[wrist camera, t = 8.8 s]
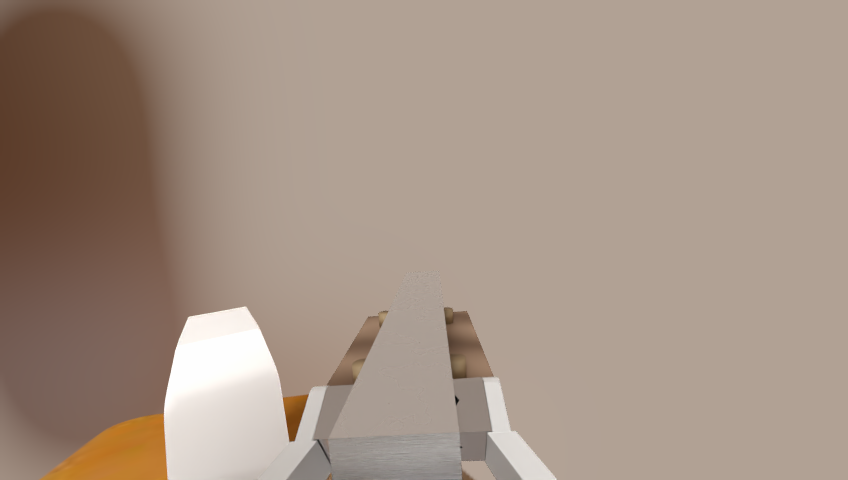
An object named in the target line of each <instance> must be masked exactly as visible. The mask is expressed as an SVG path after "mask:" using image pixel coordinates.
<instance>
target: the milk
mask: <svg viewBox="0 0 848 480" xmlns="http://www.w3.org/2000/svg"><path fill="white" fill-rule="evenodd" d="M164 427H165V443H166V458H167V473H168V480H257V479H258V478H259V477H260V475H261V474H262V473H263V472H264V471H265V470H266V469H267V467H268V466H269V465H270V464H271V463H272V462H273V461H274V459H275V458H276V457H277V456H278V455H279V454H280V453H281V451H282V450H283V449H284V448H285V447H286V446H287V444H288V443H289V437H288V430H287V424H286V417H285V411H284V405H283V398H282V392H281V385H280V380H279V376H278V372H277V369H276V367H275V364H274V362H273V359H272V357H271V354H270V352H269V350H268V347H267V345H266V343H265V340H264V338H263V335H262V333H261V331H260V329H259V326H258V325H257V323H256V321H255V320H254V318H253V317H252V315H251V314H250V312H249V310H248V309H247V307H241V308H236V309H230V310H224V311H219V312H213V313H208V314H202V315H197V316H191V317H188V319H187V322H186V324H185V327H184V329H183V331H182V334H181V336H180V338H179V341H178V344H177V348H176V351H175V356H174V360H173V365H172V370H171V374H170V379H169V384H168V388H167V394H166V400H165V407H164Z"/></svg>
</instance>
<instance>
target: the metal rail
mask: <svg viewBox="0 0 848 480" xmlns="http://www.w3.org/2000/svg"><path fill="white" fill-rule="evenodd" d="M328 441H329V452H330V462H331V473H332V480H462V467H461V451H460V436H459V426H458V418H457V410H456V402H455V394H454V386H453V378H452V370H451V362H450V354H449V346H448V338H447V330H446V322H445V314H444V307H443V298H442V290H441V283H440V275H439V271H431V272H416V273H407V274H406V275H405V278H404V280H403V282H402V284H401V286H400V288H399V290H398V292H397V294H396V297H395V299H394V301H393V303H392V305H391V307H390V310H389V311H388V313H387V316H386V318H385V320H384V322H383V324H382V326H381V328H380V330H379V333H378V335H377V337H376V339H375V341H374V343H373V345H372V347H371V349H370V352H369V354H368V356H367V358H366V360H365V362H364V364H363V366H362V368H361V371H360V373H359V375H358V377H357V379H356V381H355V383H354V385H353V387H352V390H351V392H350V394H349V396H348V398H347V400H346V402H345V404H344V406H343V409H342V411H341V413H340V415H339V417H338V419H337V421H336V423H335V425H334V428H333V430H332V432H331V434H330V436H329V438H328Z"/></svg>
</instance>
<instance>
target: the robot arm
mask: <svg viewBox="0 0 848 480" xmlns="http://www.w3.org/2000/svg"><path fill="white" fill-rule="evenodd" d="M453 386H454V394H455V402H456V410H457V418H458V426H459V436H460V451H461V461H480V460H481V461H483V460H484V461H485V462H486V464H487V466H488V467H489V469H490V470H491V472H492V473H493V475H494V476H495V478H496V480H557V479H556V478H555V476H554V475H553V474H552V473H551V472H550V471H549V469H548V468H547V467H546V466H545V464H544V463H543V462H542V461H541V460H540V459H539V457H538V456H537V455H536V454H535V453H534V451H533V450H532V449H531V448H530V447H529V446H528V444H527V443H526V442H525V441H524V440H523V438H522V437H521V436H520V435H519V434H518V433H517V431H511V428H510V423H509V419H508V414H507V410H506V406H505V401H504V397H503V393H502V388H501V384H500V380H499V379H498V377H497V376H495V377H475V378H462V379H453ZM352 387H353V385H336V386H316V387H313V388H312V389H311V391H310V393H309V396H308V399H307V402H306V406H305V409H304V412H303V416H302V419H301V422H300V425H299V429H298V432H297V435H296V438H295V441H291V442H289V443H288V444H287V446H286V447H285V448H284V449H283V450H282V451H281V453H280V454H279V455H278V456H277V457H276V458H275V459H274V461H273V462H272V463H271V464H270V465H269V466H268V467H267V469H266V470H265V471H264V472H263V473H262V474H261V475H260V477H259V478H258V479H257V480H326V479H327V478H328V476H329V475H330V473H331V462H330V452H329V441H328V438H329V436H330V434H331V432H332V430H333V428H334V425H335V423H336V421H337V419H338V417H339V415H340V413H341V411H342V409H343V406H344V404H345V402H346V400H347V398H348V396H349V394H350V392H351V390H352Z"/></svg>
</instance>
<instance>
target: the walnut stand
mask: <svg viewBox="0 0 848 480" xmlns="http://www.w3.org/2000/svg"><path fill="white" fill-rule="evenodd" d="M387 313H388V311H383V312H379V313H378V314H379V316H373V317H368V318H367V320H366V321H365V323H364V325H363V327H362V328H361V330H360V332H359V333H358V335H357V336H356V338H355V340H354V341H353V343H352V345H351V346H350V348H349V350H348V351H347V353H346V354H345V356H344V358H343V360H342V361H341V363H340V365H339V366H338V368H337V369H336V371H335V373H334V374H333V376H332V378H331V379H330V381H329V383H328V385H327V386H336V385H354V383H355V381H356V379H357V377H358V375H359V373H360V371H361V368H362V366H363V364H364V362H365V360H366V358H367V356H368V354H369V352H370V349H371V347H372V345H373V343H374V341H375V339H376V337H377V335H378V333H379V330H380V328H381V326H382V324H383V322H384V320H385V318H386V316H387ZM444 314H445V322H446V330H447V338H448V346H449V354H450V362H451V370H452V378H453V379H462V378H475V377H494V376H493V374H492V371H491V369H490V366H489V364H488V361H487V359H486V357H485V354H484V352H483V349H482V347H481V345H480V342H479V339H478V337H477V335H476V332H475V330H474V327H473V325H472V322H471V320H470V317H469V315H468V313H467V311H463V312H453V309H452V308H444Z"/></svg>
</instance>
